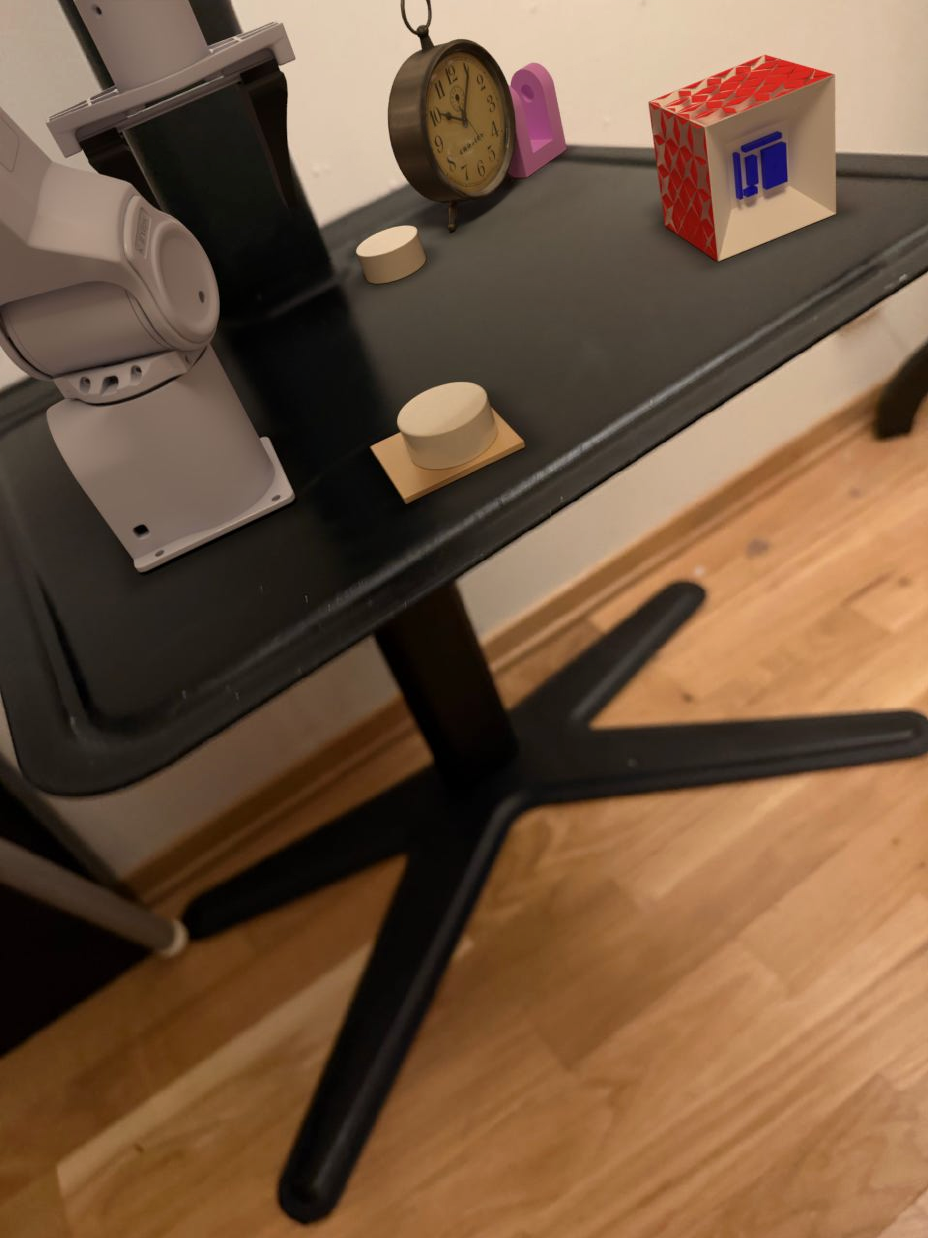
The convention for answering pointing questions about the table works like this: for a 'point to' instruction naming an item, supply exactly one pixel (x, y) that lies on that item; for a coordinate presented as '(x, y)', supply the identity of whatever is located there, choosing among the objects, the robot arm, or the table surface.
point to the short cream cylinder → (447, 425)
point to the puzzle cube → (746, 154)
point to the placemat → (423, 481)
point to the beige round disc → (391, 254)
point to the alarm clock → (451, 120)
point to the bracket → (535, 120)
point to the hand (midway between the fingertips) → (236, 228)
